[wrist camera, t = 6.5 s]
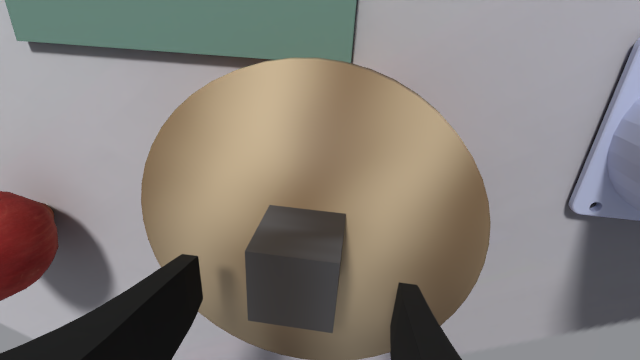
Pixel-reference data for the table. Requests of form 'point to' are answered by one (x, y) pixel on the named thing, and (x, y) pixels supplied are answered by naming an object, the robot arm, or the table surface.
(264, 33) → the mat
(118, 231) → the table surface
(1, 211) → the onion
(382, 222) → the lid
